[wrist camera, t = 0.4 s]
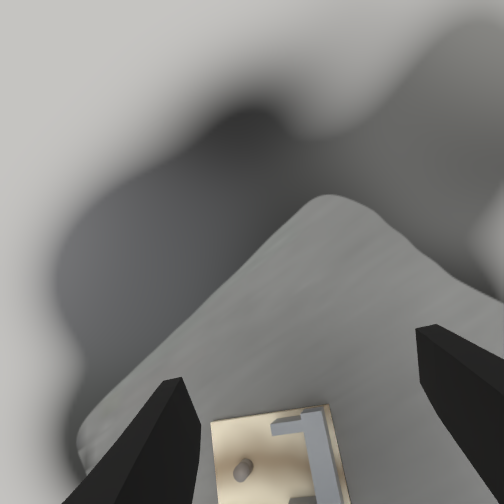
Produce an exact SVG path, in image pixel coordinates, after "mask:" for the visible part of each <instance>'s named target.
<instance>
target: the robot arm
mask: <svg viewBox="0 0 504 504" xmlns="http://www.w3.org/2000/svg"><path fill="white" fill-rule="evenodd" d="M415 330H416V341H417V353H418V365H419V376H420V384H421V385H422V387H423V389H424V391H425V393H426V395H427V397H428V399H429V400H430V402H431V404H432V406H433V408H434V409H435V411H436V413H437V415H438V416H439V418H440V419H441V421H442V422H443V424H444V425H445V427H446V428H447V430H448V431H449V432H450V434H451V435H452V437H453V438H454V440H455V441H456V443H457V444H458V445H459V447H460V448H461V450H462V451H463V453H464V454H465V455H466V457H467V458H468V460H469V461H470V462H471V464H472V465H473V467H474V468H475V470H476V471H477V472H478V474H479V475H480V477H481V478H482V480H483V481H484V482H485V484H486V485H487V487H488V488H489V490H490V491H491V492H492V494H493V495H494V497H495V498H496V499H497V501H498V503H499V504H504V359H502V358H500V357H498V356H496V355H494V354H492V353H490V352H488V351H487V350H485V349H483V348H481V347H479V346H477V345H475V344H473V343H471V342H470V341H468V340H466V339H464V338H462V337H460V336H458V335H457V334H455V333H453V332H451V331H449V330H447V329H445V328H443V327H441V326H439V325H437V324H435V325H430V326H425V327H420V328H415ZM200 440H201V423H200V421H199V418H198V416H197V414H196V411H195V409H194V406H193V404H192V401H191V399H190V396H189V394H188V391H187V389H186V386H185V384H184V381H183V379H182V377H179V378H174V379H170V380H165V381H163V382H162V383H161V384H160V385H159V387H158V388H157V389H156V390H155V392H154V393H153V394H152V396H151V397H150V398H149V400H148V401H147V402H146V404H145V405H144V406H143V408H142V409H141V410H140V411H139V413H138V414H137V415H136V417H135V418H134V419H133V421H132V422H131V423H130V424H129V426H128V427H127V428H126V430H125V431H124V432H123V433H122V435H121V436H120V437H119V439H118V440H117V441H116V442H115V443H114V445H113V446H112V447H111V448H110V449H109V451H108V452H107V453H106V454H105V455H104V457H103V458H102V459H101V460H100V461H99V463H98V464H97V465H96V466H95V467H94V469H93V470H92V471H91V472H90V473H89V474H88V476H87V477H86V478H85V479H84V480H83V481H82V482H81V484H80V485H79V486H78V487H77V488H76V489H75V490H74V491H73V492H72V493H71V494H70V496H69V497H68V498H67V499H66V500H65V501H64V502H63V503H62V504H192V499H193V494H194V488H195V482H196V476H197V470H198V464H199V455H200Z"/></svg>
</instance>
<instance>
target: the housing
mask: <svg viewBox="0 0 504 504" xmlns="http://www.w3.org/2000/svg"><path fill="white" fill-rule="evenodd" d="M270 427H271V433H272V436H277V435H284V434H292V433H299V432H304V437H305V442H306V447H307V453H308V458H309V463H310V468H311V474H312V479H313V484H314V489H315V495H316V496H310V497H299V498H290V500H289V503H288V504H344V500H343V495H342V490H341V486H340V481H339V477H338V472H337V467H336V463H335V458H334V453H333V449H332V444H331V439H330V435H329V430H328V426H327V421H326V416H325V412H324V407H323V406H322V407H315V408H308V409H304V410H303V411H302V412H301V413H300V415H298V416H291V417H284V418H277V419H276V420H275V421H273V422H272V423H271V424H270Z"/></svg>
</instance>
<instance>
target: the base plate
mask: <svg viewBox="0 0 504 504" xmlns="http://www.w3.org/2000/svg"><path fill="white" fill-rule="evenodd" d="M322 406H323V407H324V412H325V416H326V421H327V426H328V430H329V435H330V439H331V444H332V449H333V453H334V458H335V463H336V467H337V472H338V477H339V481H340V486H341V490H342V495H343V500H344V504H351V502H350V497H349V493H348V488H347V484H346V479H345V475H344V470H343V466H342V461H341V457H340V452H339V448H338V443H337V439H336V434H335V430H334V425H333V421H332V416H331V412H330V407H329V404H325V405H318V406H311V407H304V408H298V409H291V410H284V411H277V412H271V413H264V414H257V415H250V416H244V417H237V418H230V419H223V420H217V421H213V422H211V432H212V442H213V452H214V462H215V472H216V482H217V492H218V502H219V504H288V503H289V500H290V498H299V497H310V496H316V495H315V489H314V484H313V479H312V474H311V468H310V463H309V458H308V453H307V447H306V442H305V437H304V432H299V433H292V434H284V435H277V436H272V433H271V427H270V424H271V423H272V422H273V421H275V420H276V419H277V418H284V417H291V416H298V415H300V413H301V412H302V411H303V410H304V409H308V408H315V407H322Z"/></svg>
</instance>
